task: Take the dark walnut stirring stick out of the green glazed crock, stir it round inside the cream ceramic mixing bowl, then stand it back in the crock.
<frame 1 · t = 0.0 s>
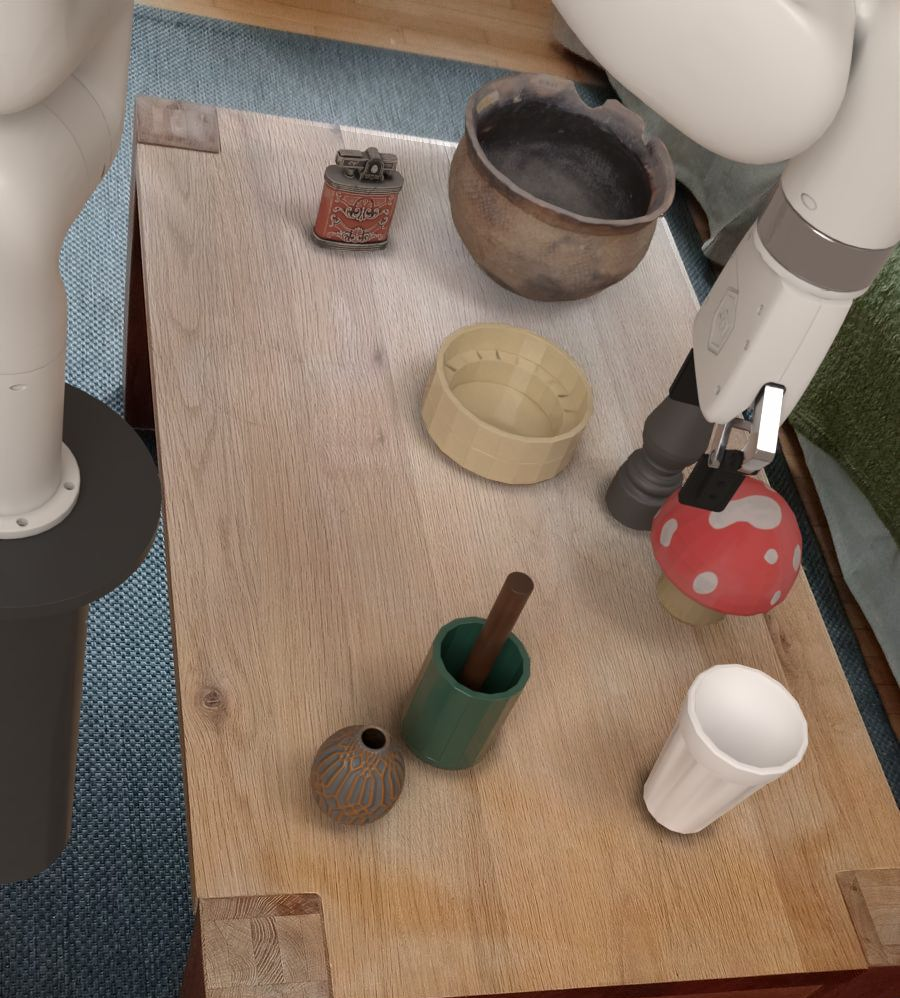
hand: (693, 451, 87), 28 cm above the table, tool pointing down, fingers open, 9 cm apart
crock: (445, 730, 105), on the table
decorative mushroom: (680, 613, 120), on the table
mixing bowl: (496, 428, 125), on the table
candle holder: (634, 507, 125), on the table
cup: (675, 804, 109), on the table
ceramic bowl: (524, 271, 139), on the table
lighter: (348, 242, 133), on the table
vase: (346, 800, 100), on the table
stick: (448, 724, 105), point 1 cm above the table, touching crock
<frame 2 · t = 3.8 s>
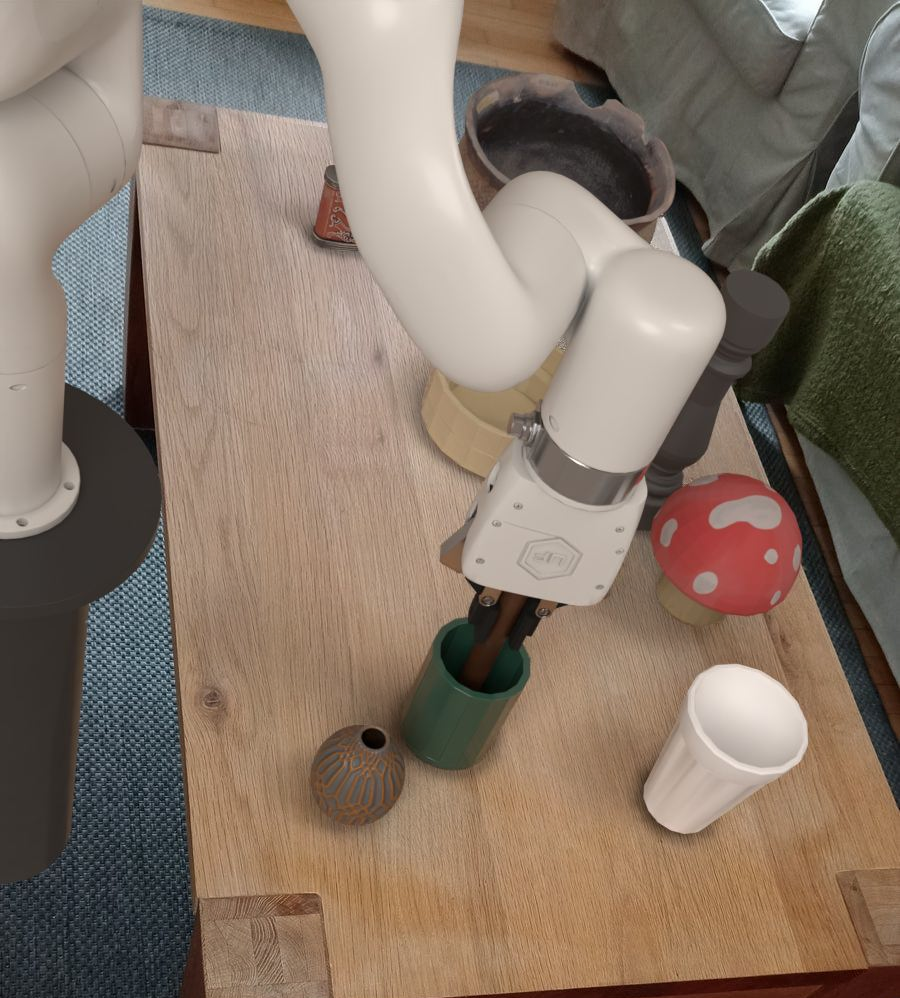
hand: (496, 630, 95), 13 cm above the table, tool pointing down, fingers closed on stick, 2 cm apart
stick: (448, 724, 105), point 1 cm above the table, touching crock, gripper
everything else where it was.
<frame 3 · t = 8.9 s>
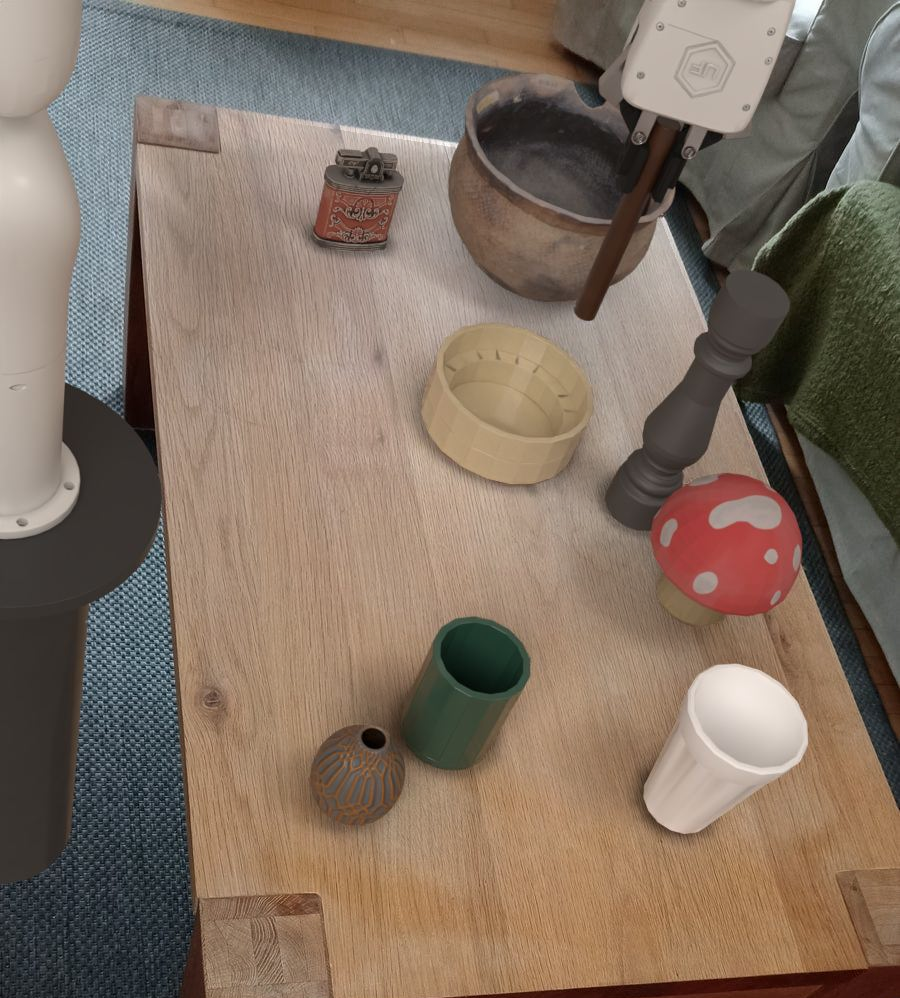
hand: (640, 186, 103), 27 cm above the table, tool pointing down, fingers closed on stick
stick: (584, 313, 114), point 15 cm above the table, touching gripper
everything else where it was.
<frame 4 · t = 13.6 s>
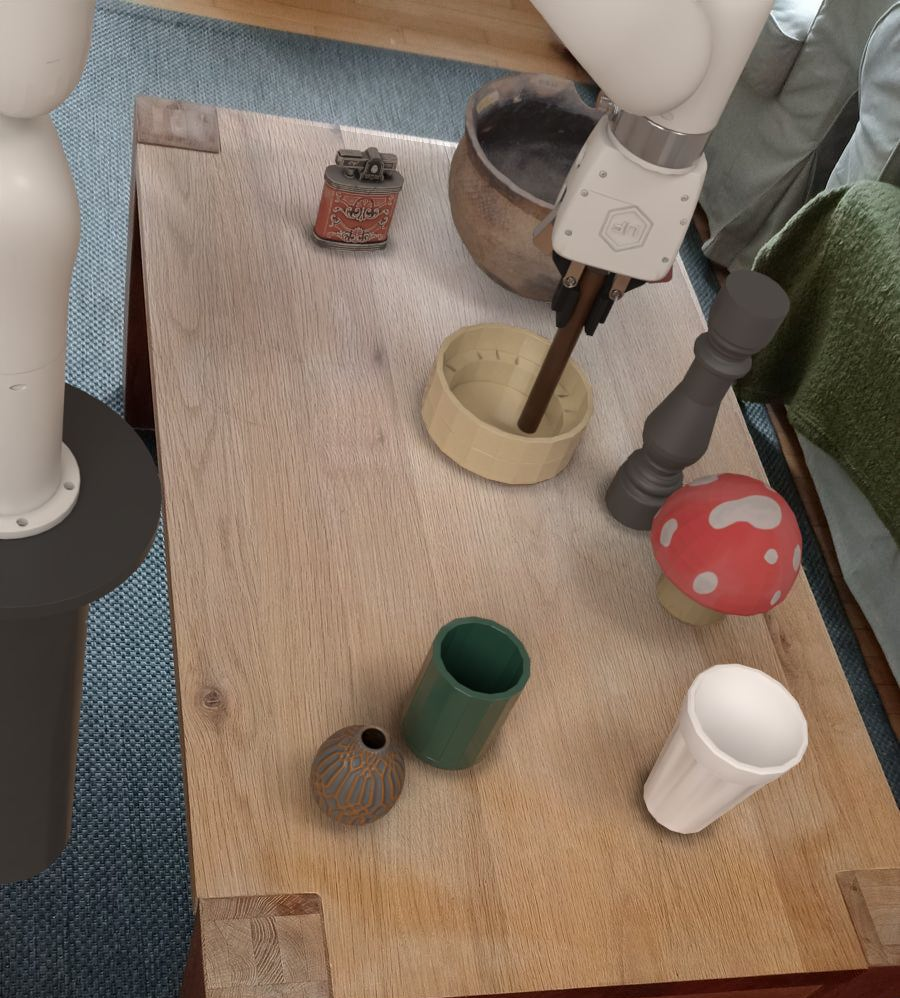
hand: (574, 320, 113), 15 cm above the table, tool pointing down, fingers closed on stick, 2 cm apart
stick: (527, 426, 123), point 2 cm above the table, touching gripper
everything else where it was.
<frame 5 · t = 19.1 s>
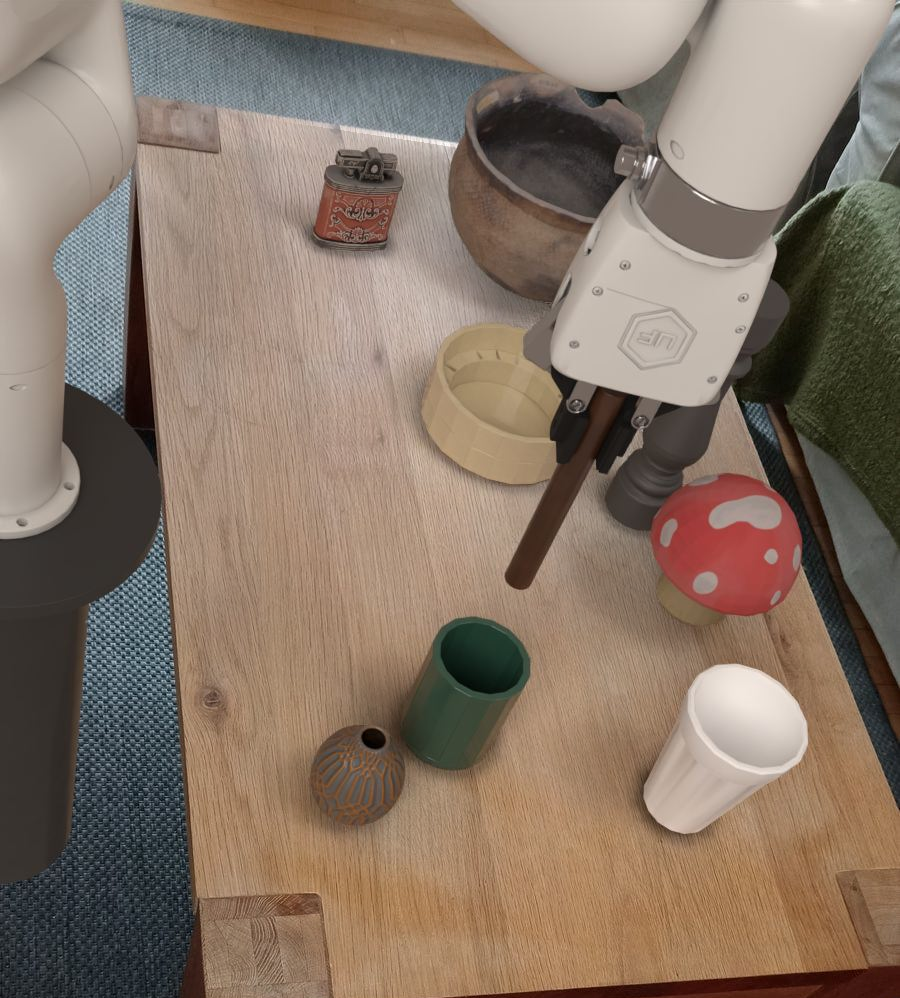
hand: (581, 451, 82), 30 cm above the table, tool pointing down, fingers closed on stick
stick: (517, 579, 92), point 17 cm above the table, touching gripper
everything else where it was.
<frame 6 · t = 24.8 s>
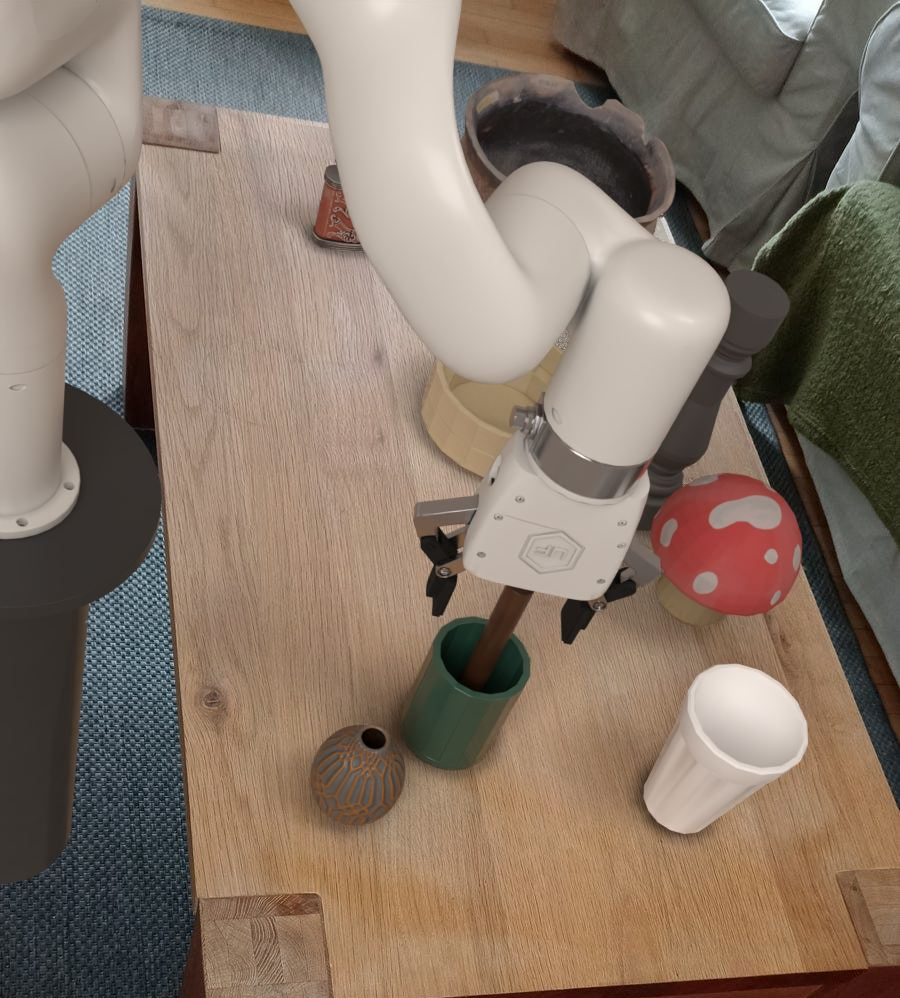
hand: (501, 615, 93), 15 cm above the table, tool pointing down, fingers open, 9 cm apart
stick: (449, 725, 105), point 1 cm above the table, touching crock
everything else where it was.
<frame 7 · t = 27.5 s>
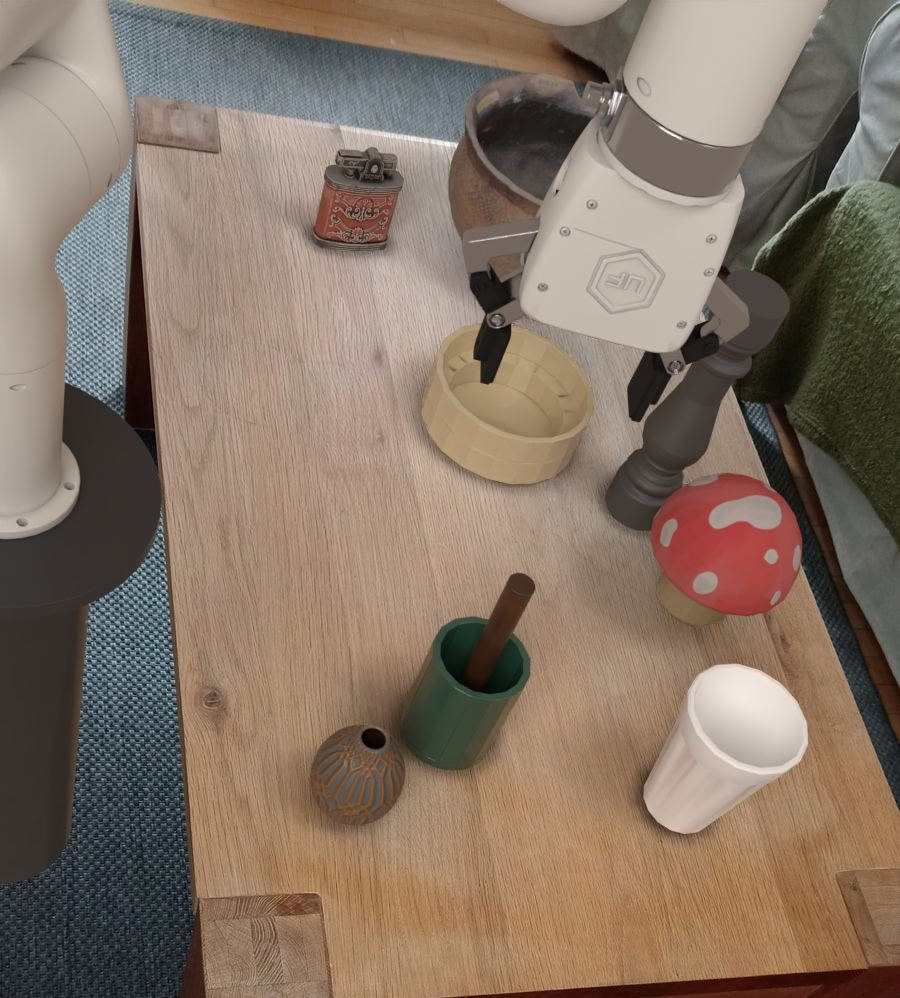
hand: (560, 387, 81), 32 cm above the table, tool pointing down, fingers open, 9 cm apart
nothing on the table moved.
at the end: stick 0.1 cm off-centre in the crock, point 0.8 cm above the crock's base; stick tilted 0°; stick touching crock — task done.
